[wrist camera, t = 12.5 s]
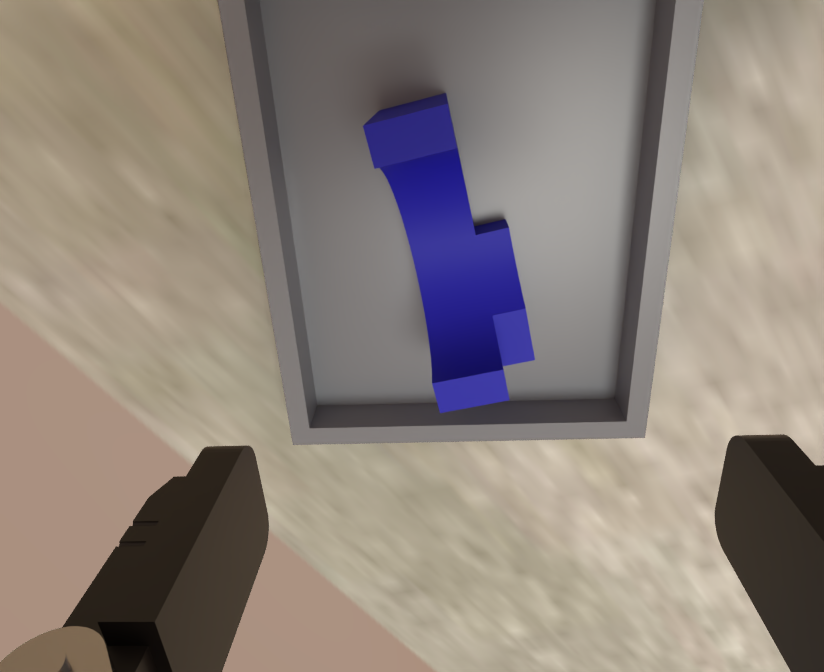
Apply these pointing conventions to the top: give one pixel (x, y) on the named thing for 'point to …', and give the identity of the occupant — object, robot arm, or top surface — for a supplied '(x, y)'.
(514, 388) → the tray
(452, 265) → the blue curved block
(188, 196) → the top surface
